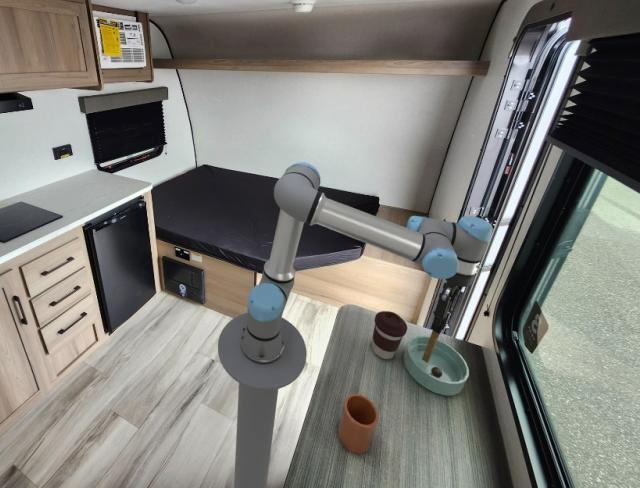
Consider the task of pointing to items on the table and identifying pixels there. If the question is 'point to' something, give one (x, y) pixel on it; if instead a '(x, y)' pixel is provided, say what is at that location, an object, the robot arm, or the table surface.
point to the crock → (357, 423)
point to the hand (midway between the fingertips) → (437, 328)
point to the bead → (436, 372)
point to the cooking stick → (430, 346)
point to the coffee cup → (387, 333)
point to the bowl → (442, 358)
